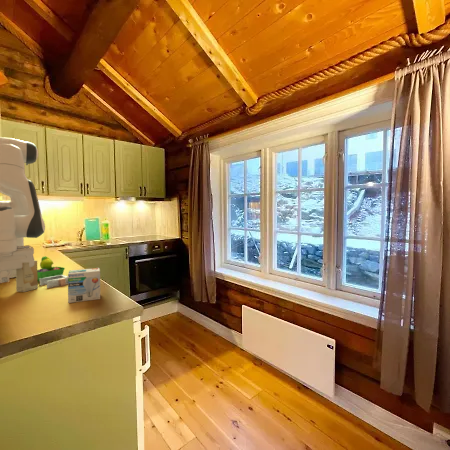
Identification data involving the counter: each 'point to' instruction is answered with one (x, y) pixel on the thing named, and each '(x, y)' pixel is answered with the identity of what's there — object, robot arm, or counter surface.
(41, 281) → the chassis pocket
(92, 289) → the light bulb box
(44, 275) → the fruit basket
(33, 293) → the counter surface
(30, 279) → the skincare box
